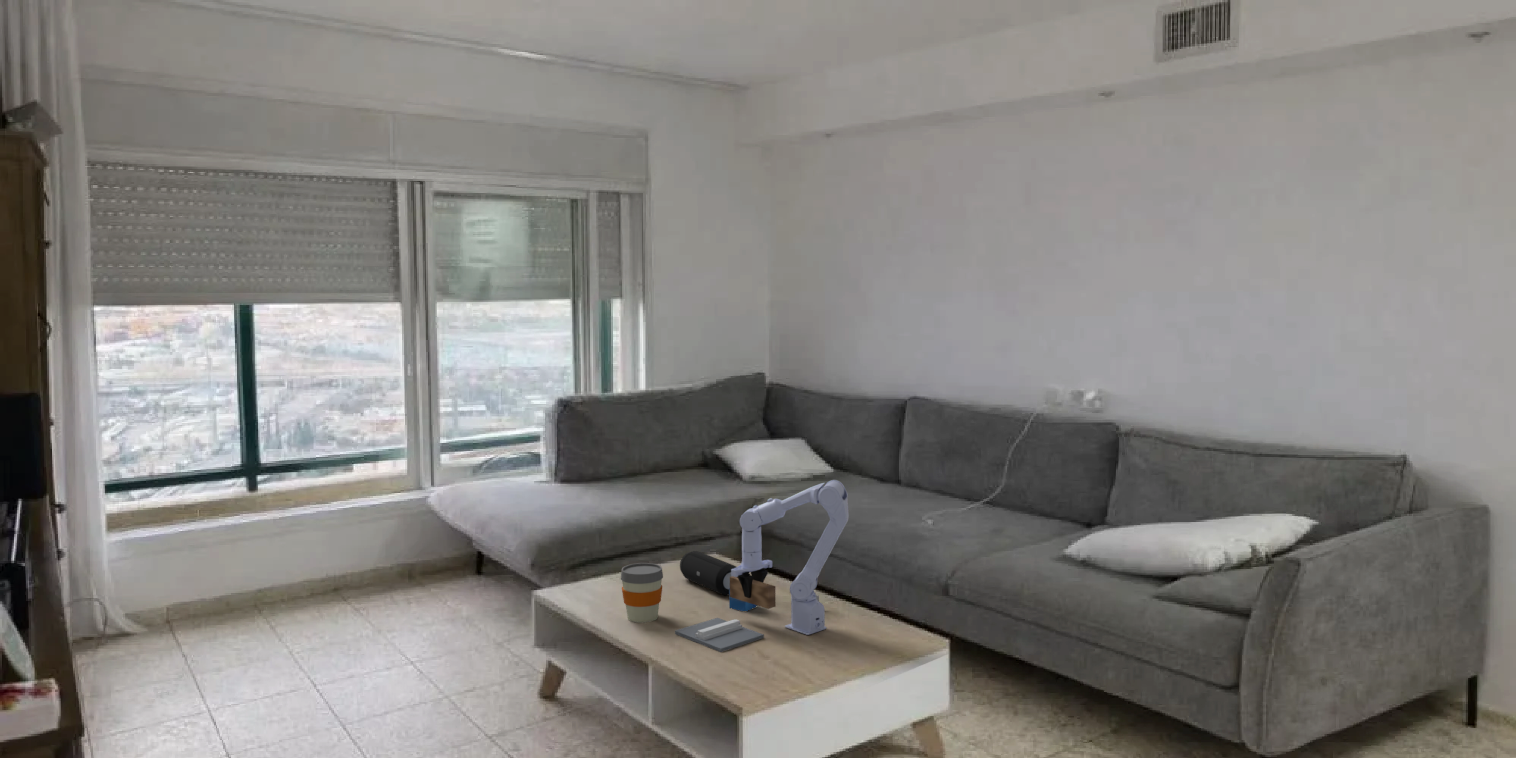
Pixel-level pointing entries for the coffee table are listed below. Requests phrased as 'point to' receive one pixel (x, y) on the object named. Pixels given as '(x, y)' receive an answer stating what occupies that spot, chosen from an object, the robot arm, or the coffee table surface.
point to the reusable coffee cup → (642, 591)
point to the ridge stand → (719, 634)
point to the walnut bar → (754, 593)
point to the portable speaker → (707, 571)
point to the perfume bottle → (739, 604)
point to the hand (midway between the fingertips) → (752, 595)
